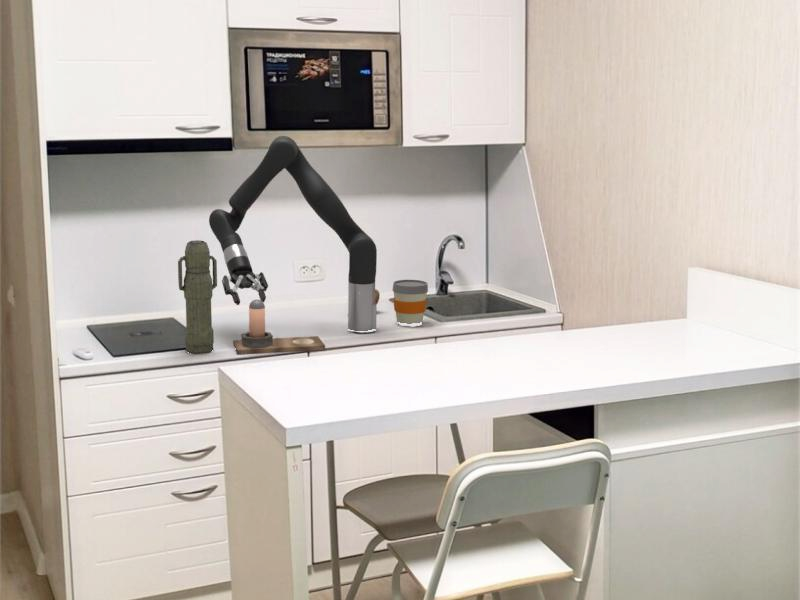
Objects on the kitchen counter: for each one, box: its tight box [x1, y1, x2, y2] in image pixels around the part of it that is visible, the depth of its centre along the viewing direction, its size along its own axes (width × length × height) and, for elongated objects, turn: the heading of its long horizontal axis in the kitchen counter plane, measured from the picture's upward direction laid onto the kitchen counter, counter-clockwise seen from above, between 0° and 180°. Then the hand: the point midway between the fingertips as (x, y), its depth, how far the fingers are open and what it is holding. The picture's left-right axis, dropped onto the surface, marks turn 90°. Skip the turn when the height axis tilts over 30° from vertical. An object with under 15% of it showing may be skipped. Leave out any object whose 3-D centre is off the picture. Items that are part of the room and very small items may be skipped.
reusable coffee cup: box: [392, 279, 429, 324], centre depth 355 cm, size 13×12×15 cm
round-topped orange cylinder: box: [248, 299, 266, 338], centre depth 320 cm, size 5×5×14 cm
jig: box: [232, 331, 326, 355], centre depth 323 cm, size 28×12×4 cm, turn 105°
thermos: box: [177, 239, 218, 355], centre depth 314 cm, size 9×12×35 cm
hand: (251, 302), depth 322 cm, fingers open, 8 cm apart
